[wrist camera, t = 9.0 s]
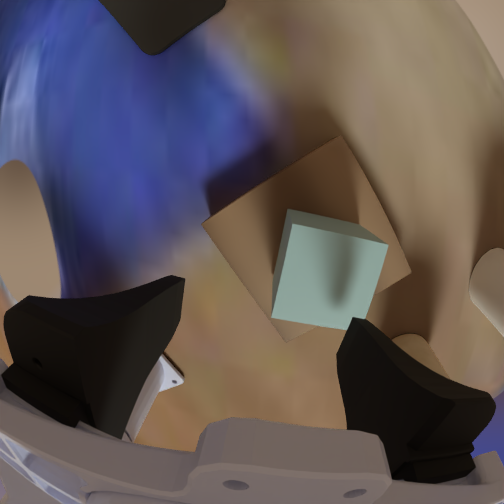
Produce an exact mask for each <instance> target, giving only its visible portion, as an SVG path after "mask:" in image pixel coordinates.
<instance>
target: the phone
mask: <svg viewBox="0 0 504 504" xmlns="http://www.w3.org/2000/svg"><path fill="white" fill-rule="evenodd" d="M99 1H100V3H101V4H102V5H104V6H105V8H106V9H107V10H108V11H109V12H110V13H111V15H112V16H113V17H114V18H115V19H116V20H117V21H118V23H119V24H120V25H121V26H122V27H123V29H124V30H125V31H126V32H127V33H128V34H129V36H130V37H131V38H132V39H133V40H134V42H135V43H136V44H137V45H138V46H139V48H140V49H141V50H142V51H143V52H145V53H146V54H148V55H157V54H159V53H161V52H163V51H164V50H166V49H167V48H168V47H170V46H171V45H172V44H173V43H175V42H176V41H177V40H179V39H180V38H181V37H183V36H184V35H186V34H187V33H188V32H190V31H191V30H193V29H194V28H195V27H197V26H198V25H200V24H201V23H203V22H204V21H206V20H207V19H209V18H210V17H212V16H213V15H215V14H216V13H218V12H219V11H220V10H222V9H223V7H224V6H225V3H226V1H225V0H99Z"/></svg>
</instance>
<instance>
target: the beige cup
mask: <svg viewBox="0 0 504 504" xmlns="http://www.w3.org/2000/svg"><path fill="white" fill-rule="evenodd" d="M469 294H470V298H471V301H472V302H473V303H474V304H475V305H476V306H477V307H478V308H479V309H480V310H481V312H482V313H483V314H484V315H485V316H486V317H487V318H488V319H489V320H490V322H491V323H492V324H493V325H494V326H495V327H496V329H497V330H498V331H499V332H500V333H501V334H502V336H503V337H504V249H501V248H495V249H490V250H489V251H488V252H487V253H485V254H484V255H483V256H482V257H481V258H480V260H479V261H478V263H477V264H476V265H475V267H474V270H473V272H472V275H471V278H470V284H469Z"/></svg>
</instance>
